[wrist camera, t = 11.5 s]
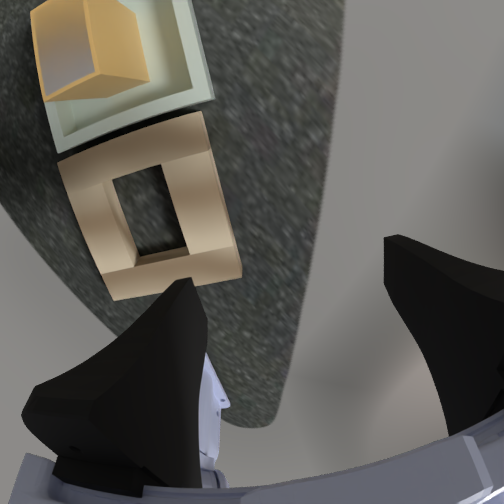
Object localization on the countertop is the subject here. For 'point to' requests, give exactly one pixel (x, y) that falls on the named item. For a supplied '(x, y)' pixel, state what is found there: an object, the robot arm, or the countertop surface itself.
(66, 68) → the tan rectangular block
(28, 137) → the countertop surface
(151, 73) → the parts tray
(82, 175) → the wooden frame
